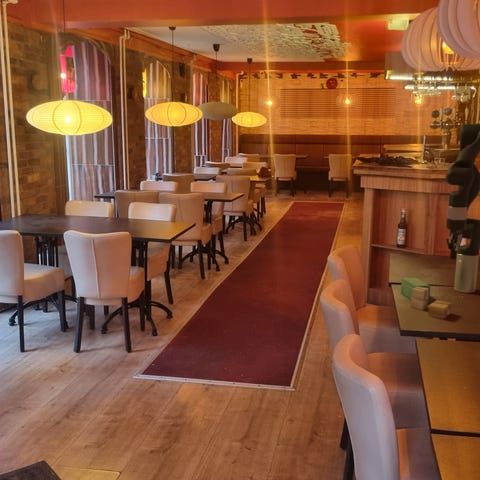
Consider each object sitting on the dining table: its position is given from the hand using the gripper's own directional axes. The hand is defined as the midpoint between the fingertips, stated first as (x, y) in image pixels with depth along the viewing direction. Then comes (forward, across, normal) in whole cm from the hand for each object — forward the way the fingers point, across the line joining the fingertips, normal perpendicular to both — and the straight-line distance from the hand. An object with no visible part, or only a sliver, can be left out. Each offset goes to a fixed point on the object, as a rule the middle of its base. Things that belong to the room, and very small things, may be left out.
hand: (453, 258), depth 249 cm
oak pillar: (+19, +6, 0) cm, 20 cm away
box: (+22, -5, -17) cm, 28 cm away
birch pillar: (+21, +7, -10) cm, 25 cm away
